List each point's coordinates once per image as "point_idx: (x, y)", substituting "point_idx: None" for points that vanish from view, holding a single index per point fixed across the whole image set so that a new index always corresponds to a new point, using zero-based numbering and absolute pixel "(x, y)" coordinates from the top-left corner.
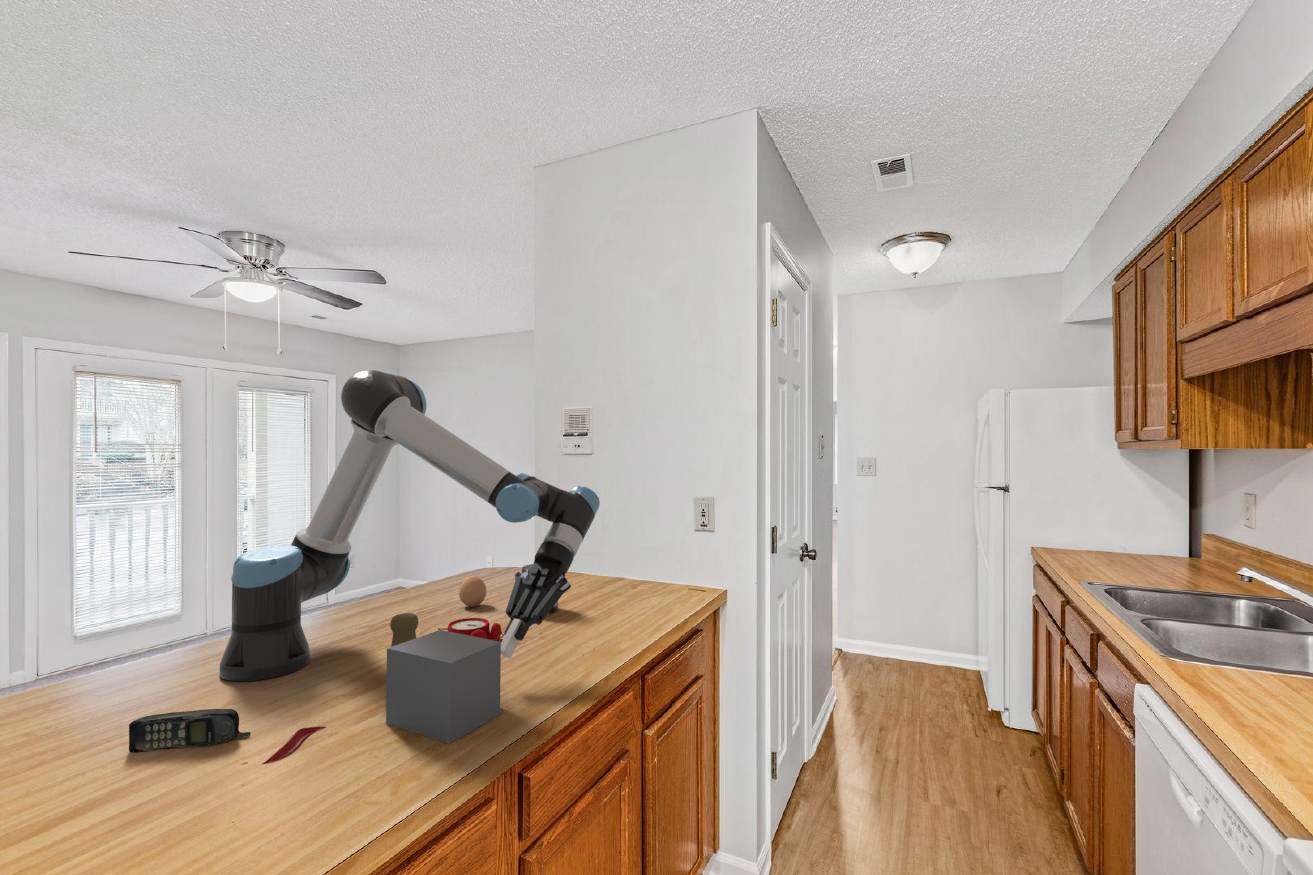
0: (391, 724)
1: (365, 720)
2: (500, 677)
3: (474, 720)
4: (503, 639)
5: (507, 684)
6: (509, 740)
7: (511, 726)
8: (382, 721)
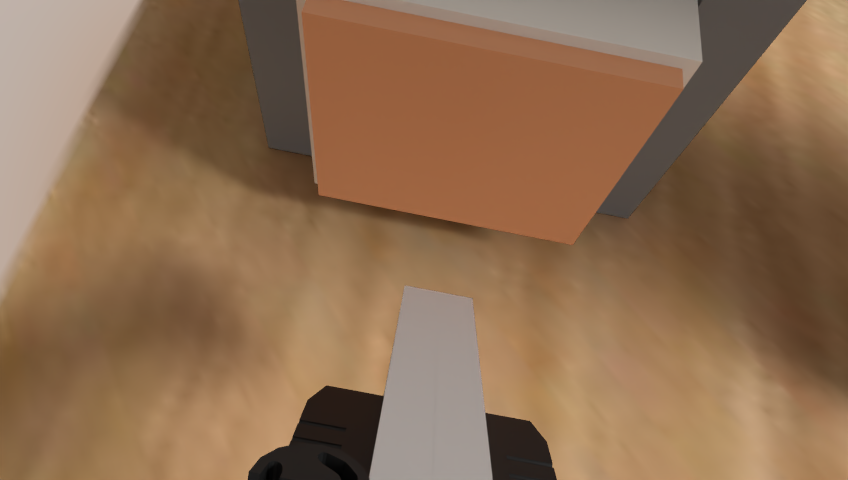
0: None
1: None
2: (242, 20)
3: None
4: (469, 339)
5: None
6: (142, 2)
7: (174, 77)
8: None
